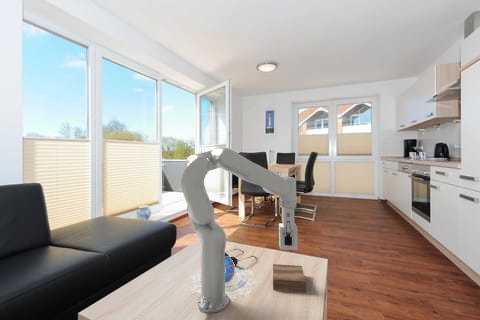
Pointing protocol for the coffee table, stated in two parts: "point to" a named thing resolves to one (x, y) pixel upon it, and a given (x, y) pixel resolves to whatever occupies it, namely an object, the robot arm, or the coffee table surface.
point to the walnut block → (288, 278)
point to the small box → (282, 238)
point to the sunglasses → (235, 258)
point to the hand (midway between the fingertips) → (288, 241)
